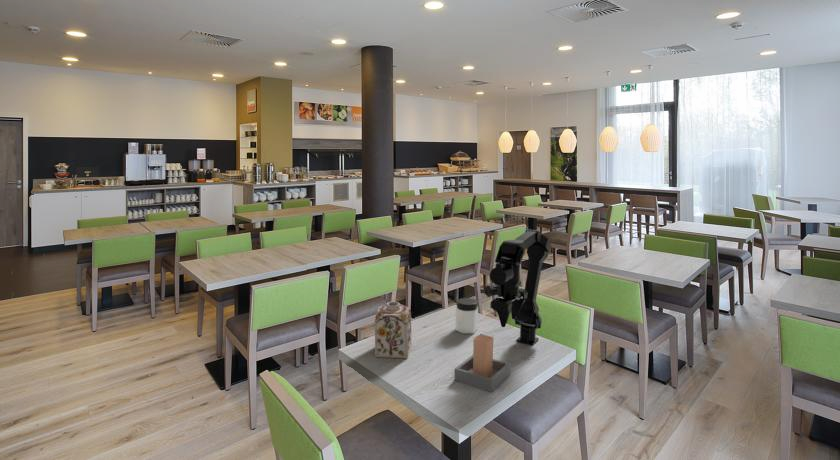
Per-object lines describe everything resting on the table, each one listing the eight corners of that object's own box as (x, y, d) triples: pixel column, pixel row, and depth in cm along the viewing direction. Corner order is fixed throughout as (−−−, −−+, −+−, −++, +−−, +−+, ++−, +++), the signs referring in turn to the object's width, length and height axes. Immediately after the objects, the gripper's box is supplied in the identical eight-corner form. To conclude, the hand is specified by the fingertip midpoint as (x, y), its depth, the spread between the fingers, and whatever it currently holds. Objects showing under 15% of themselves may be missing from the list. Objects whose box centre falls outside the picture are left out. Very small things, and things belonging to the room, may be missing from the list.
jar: (451, 328, 186) (451, 300, 184) (466, 324, 191) (467, 296, 189) (466, 336, 179) (466, 306, 177) (481, 331, 184) (482, 302, 182)
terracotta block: (479, 370, 150) (480, 333, 148) (492, 374, 147) (493, 337, 145) (472, 375, 146) (473, 338, 144) (485, 379, 144) (486, 342, 142)
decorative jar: (380, 343, 172) (380, 297, 169) (411, 345, 171) (411, 298, 168) (374, 358, 161) (373, 308, 157) (407, 359, 159) (407, 309, 156)
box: (474, 364, 156) (474, 353, 155) (509, 374, 149) (510, 363, 148) (454, 379, 145) (454, 368, 145) (492, 392, 138) (492, 380, 138)
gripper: (499, 269, 167) (497, 311, 170) (476, 280, 152) (475, 326, 154) (529, 274, 161) (526, 317, 164) (508, 286, 146) (506, 333, 148)
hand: (508, 322), depth 158 cm, fingers open, 9 cm apart
